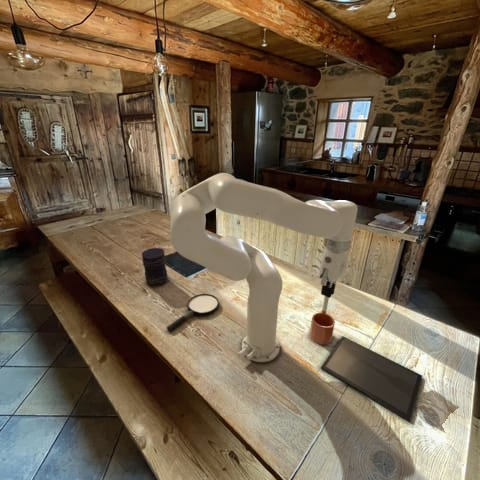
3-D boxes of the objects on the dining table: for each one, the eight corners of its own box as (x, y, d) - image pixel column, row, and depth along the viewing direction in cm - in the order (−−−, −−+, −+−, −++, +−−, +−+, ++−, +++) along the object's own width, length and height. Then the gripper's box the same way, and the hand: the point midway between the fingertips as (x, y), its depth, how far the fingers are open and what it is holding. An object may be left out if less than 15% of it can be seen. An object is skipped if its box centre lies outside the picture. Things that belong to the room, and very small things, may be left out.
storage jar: (157, 273, 132) (153, 246, 125) (172, 279, 127) (169, 251, 121) (141, 282, 124) (136, 254, 118) (156, 289, 119) (152, 260, 113)
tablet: (409, 421, 67) (410, 419, 67) (320, 368, 82) (321, 366, 81) (421, 377, 79) (422, 375, 79) (342, 337, 93) (342, 335, 93)
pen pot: (326, 348, 89) (329, 330, 86) (305, 337, 93) (308, 320, 90) (335, 335, 94) (338, 319, 91) (315, 325, 99) (318, 309, 96)
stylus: (324, 314, 88) (331, 281, 83) (321, 312, 89) (326, 279, 84) (326, 312, 89) (333, 279, 84) (322, 310, 90) (328, 277, 85)
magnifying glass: (157, 324, 99) (157, 319, 98) (202, 293, 116) (202, 289, 115) (180, 339, 92) (180, 334, 91) (224, 304, 110) (224, 300, 109)
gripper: (338, 255, 71) (328, 310, 79) (358, 238, 82) (347, 288, 89) (313, 247, 75) (305, 300, 83) (335, 232, 86) (326, 280, 94)
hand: (327, 293), depth 86 cm, fingers closed on stylus, 1 cm apart
